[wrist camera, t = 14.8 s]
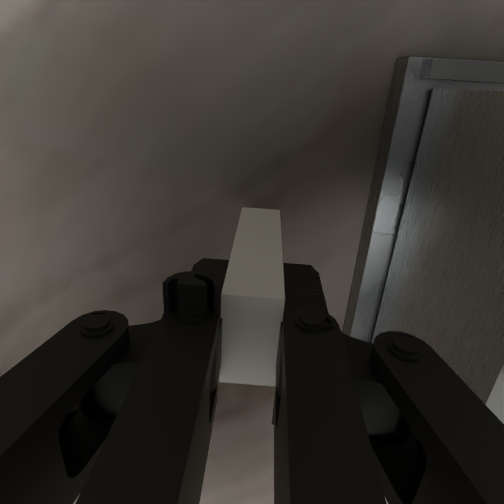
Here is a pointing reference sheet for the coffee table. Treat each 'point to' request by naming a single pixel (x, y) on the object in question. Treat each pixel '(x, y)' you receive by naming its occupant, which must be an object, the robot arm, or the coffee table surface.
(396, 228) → the base
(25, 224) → the coffee table surface
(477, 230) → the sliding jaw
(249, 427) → the coffee table surface
